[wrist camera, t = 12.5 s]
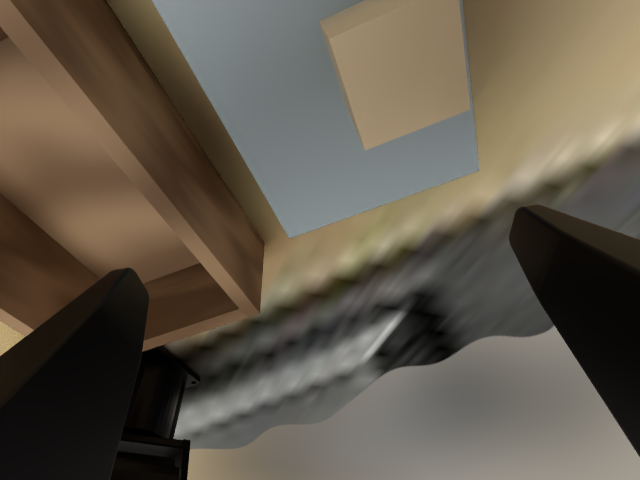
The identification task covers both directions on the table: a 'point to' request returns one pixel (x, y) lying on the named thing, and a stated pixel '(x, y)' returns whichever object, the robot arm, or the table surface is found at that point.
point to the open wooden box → (108, 181)
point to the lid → (335, 97)
